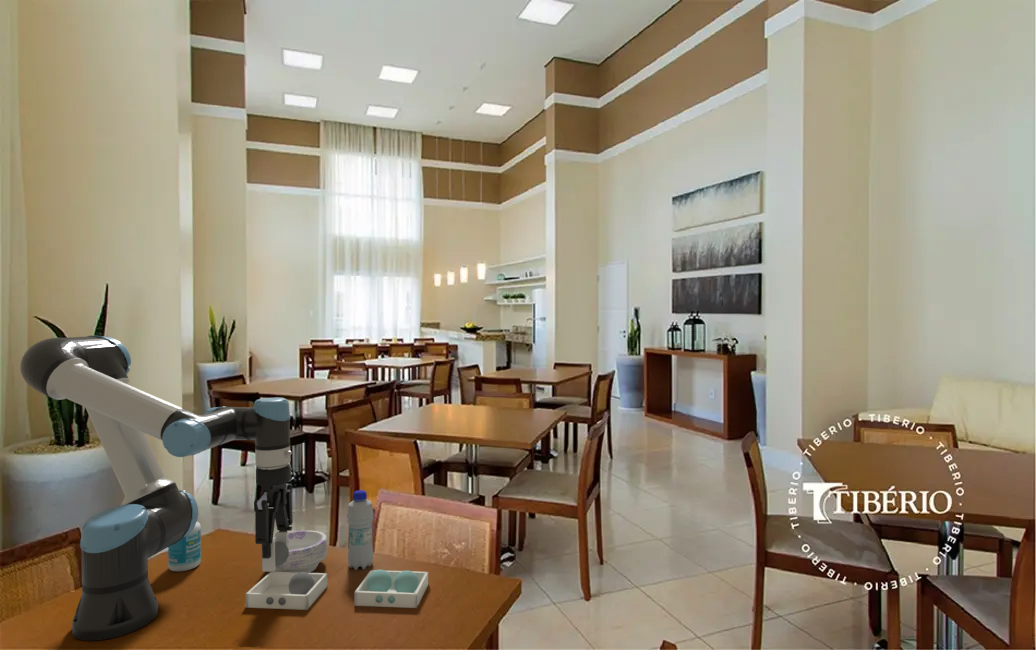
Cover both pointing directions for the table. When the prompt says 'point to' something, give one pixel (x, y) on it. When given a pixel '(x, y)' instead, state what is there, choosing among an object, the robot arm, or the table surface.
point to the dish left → (284, 592)
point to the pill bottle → (186, 551)
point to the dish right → (391, 593)
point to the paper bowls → (304, 551)
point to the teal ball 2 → (406, 582)
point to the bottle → (360, 531)
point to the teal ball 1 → (379, 581)
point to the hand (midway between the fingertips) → (275, 564)
